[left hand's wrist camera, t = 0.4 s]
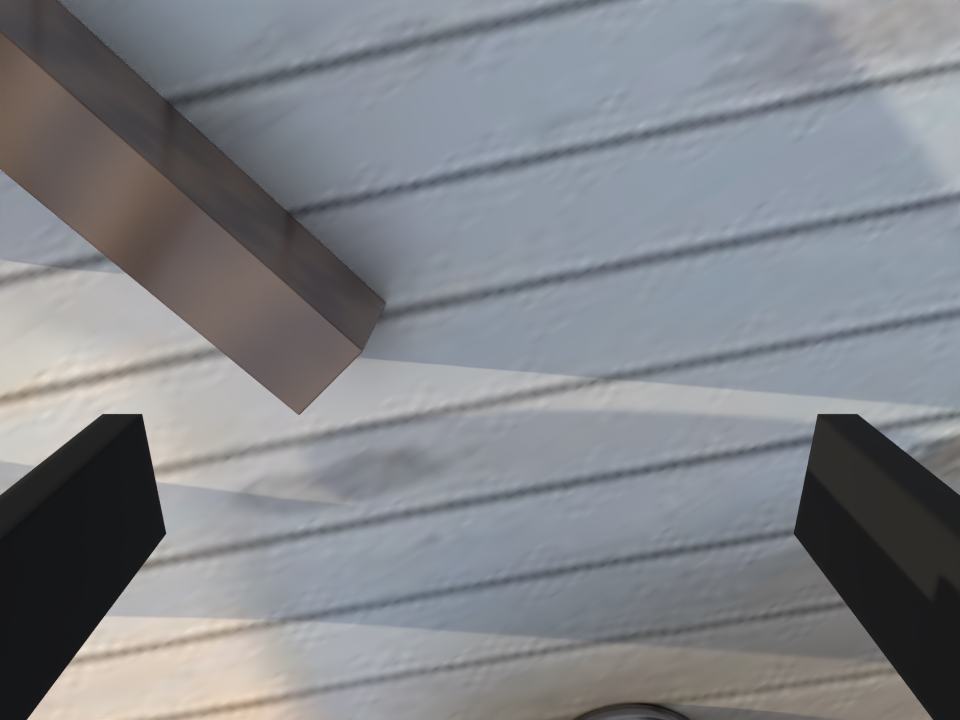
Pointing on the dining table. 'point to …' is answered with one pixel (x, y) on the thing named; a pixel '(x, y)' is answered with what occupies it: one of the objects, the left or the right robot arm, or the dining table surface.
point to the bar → (173, 207)
